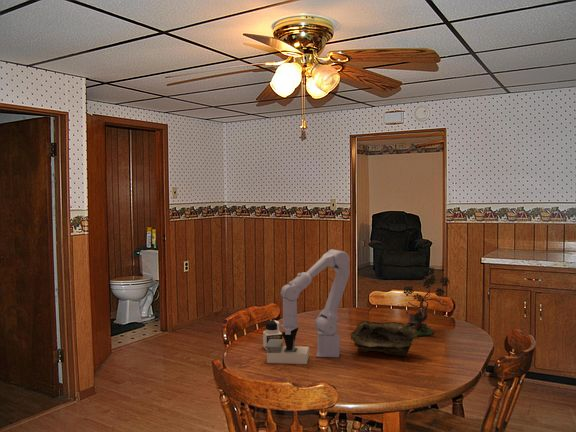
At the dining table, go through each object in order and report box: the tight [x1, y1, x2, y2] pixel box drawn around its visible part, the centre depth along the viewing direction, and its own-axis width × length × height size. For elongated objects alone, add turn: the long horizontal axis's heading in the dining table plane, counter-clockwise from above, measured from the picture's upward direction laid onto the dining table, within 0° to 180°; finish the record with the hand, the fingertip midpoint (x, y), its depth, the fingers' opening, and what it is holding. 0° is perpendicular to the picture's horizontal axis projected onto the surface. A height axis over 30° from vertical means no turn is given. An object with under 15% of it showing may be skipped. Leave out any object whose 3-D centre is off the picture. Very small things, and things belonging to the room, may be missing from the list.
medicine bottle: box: [262, 319, 284, 352], centre depth 223 cm, size 7×7×12 cm
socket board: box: [264, 338, 310, 365], centre depth 207 cm, size 16×11×7 cm, turn 82°
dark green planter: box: [350, 320, 419, 358], centre depth 214 cm, size 28×13×15 cm
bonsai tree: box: [403, 266, 451, 337], centre depth 248 cm, size 35×24×32 cm
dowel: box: [286, 339, 296, 352], centre depth 207 cm, size 4×4×8 cm
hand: (290, 347), depth 207 cm, fingers open, 5 cm apart
